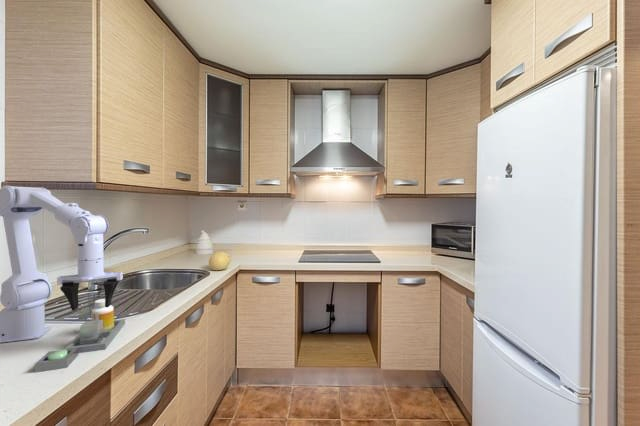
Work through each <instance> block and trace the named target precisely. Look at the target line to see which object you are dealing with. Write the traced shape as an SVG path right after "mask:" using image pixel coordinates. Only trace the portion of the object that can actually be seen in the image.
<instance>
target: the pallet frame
mask: <svg viewBox="0 0 640 426" xmlns="http://www.w3.org/2000/svg"><path fill="white" fill-rule="evenodd" d="M125 325H126V319H123V318H122V319H114V329H113V330H109V331H103V341H102V342H101V343H96V344H88V345H81V346H80V334H79V335H78V336H76V337H75V338H74V339H73V340H72V341H71V342H70V343H69V344H68V345H67V346H66V347H65V348H64V349H72V348H78V354H81V353H87V352H88V353H89V352H97V351H103V350H104V351H105V350H106V349H107V348H108V347H109V345H110V344H111V343H112V342H113V340H114V339H115V338H116V336H117V335H118V334H119V332H120V331H121V330H122V328H124V326H125ZM104 338H105V339H104Z"/></svg>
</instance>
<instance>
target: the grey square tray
mask: <svg viewBox="0 0 640 426" xmlns="http://www.w3.org/2000/svg"><path fill="white" fill-rule="evenodd" d="M64 349H65V348H64ZM65 350H67V356H66V357H65V358H61V359H54V360H48V354H50V353H51V352H54V351H55V350H50V351H48V352H47V353H45V354H44V355H43V356H42V357H41V358H40V359H38V361H36V362H35V363H34V372H35V373H38V372H39V373H40V372H46V371H52V370H53V371H54V370H59V369H66V368H68V367H69V366H70V365H71V364H72V363H73V362H74V360H76V359H77V358H78V356H79V353H78V348H72V349H65Z"/></svg>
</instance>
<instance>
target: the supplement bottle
mask: <svg viewBox="0 0 640 426" xmlns="http://www.w3.org/2000/svg"><path fill="white" fill-rule="evenodd" d="M114 309H115V307H114V306H113V305H112V304H111V305H110V306H109V307H105V298H99V299H97V300H94V308H93V309H92V311H91V321H95V320H103V331H109V330H113V329H114V328H115V326H114V320H115V315H114V314H115V312H114V311H115V310H114Z"/></svg>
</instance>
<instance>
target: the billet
mask: <svg viewBox="0 0 640 426" xmlns="http://www.w3.org/2000/svg"><path fill="white" fill-rule="evenodd" d="M79 335H80V344H79V346H81V345H88V344H96V343H103V341H104V338H103V320H95V321H92V320H86V321H85V322H84V323H83V324H81V325H80V326H79Z"/></svg>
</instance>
